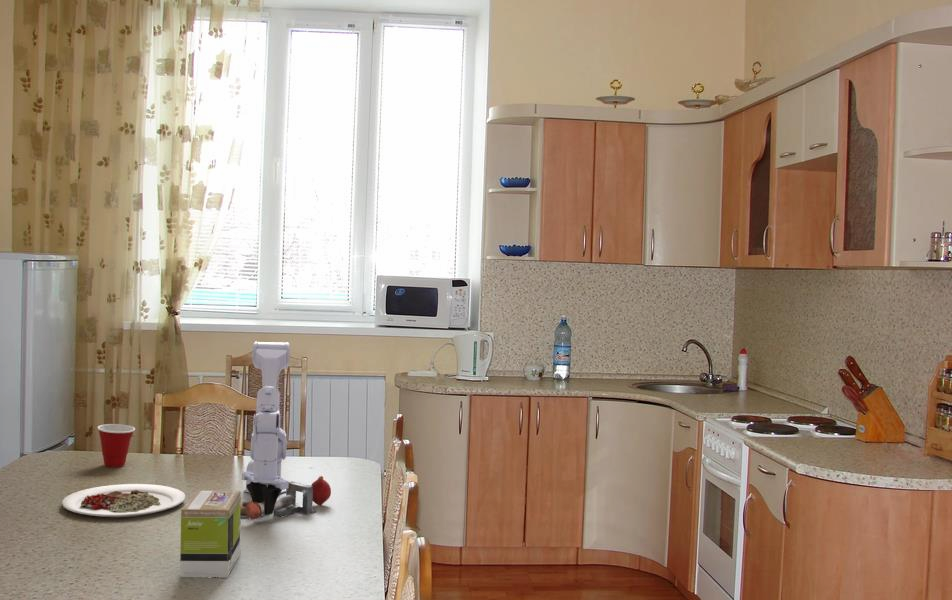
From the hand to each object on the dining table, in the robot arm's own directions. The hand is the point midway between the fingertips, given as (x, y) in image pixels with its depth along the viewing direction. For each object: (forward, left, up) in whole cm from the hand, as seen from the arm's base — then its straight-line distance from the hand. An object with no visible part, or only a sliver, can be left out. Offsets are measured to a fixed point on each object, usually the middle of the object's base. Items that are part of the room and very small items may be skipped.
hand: (263, 512), depth 229 cm
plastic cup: (-75, +10, -2) cm, 76 cm away
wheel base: (-9, +3, -2) cm, 10 cm away
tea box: (+16, -31, -2) cm, 34 cm away
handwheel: (-9, +3, -2) cm, 10 cm away
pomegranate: (+1, +19, -2) cm, 20 cm away
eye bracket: (0, +9, -2) cm, 10 cm away
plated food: (-37, -14, -3) cm, 39 cm away
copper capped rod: (0, +2, -1) cm, 3 cm away
